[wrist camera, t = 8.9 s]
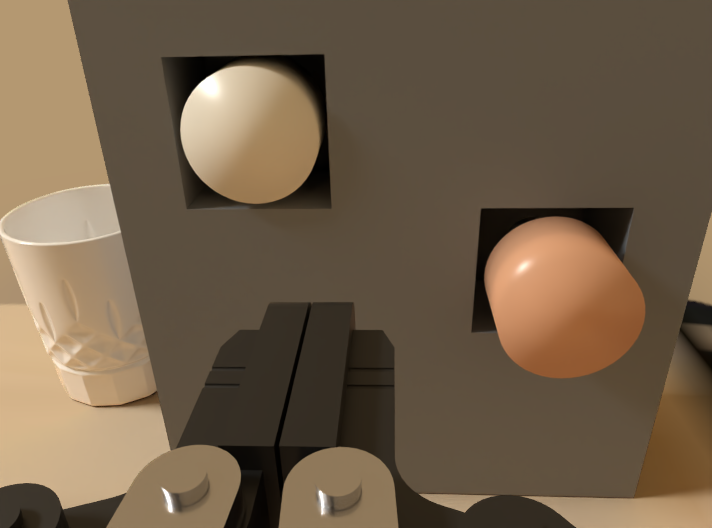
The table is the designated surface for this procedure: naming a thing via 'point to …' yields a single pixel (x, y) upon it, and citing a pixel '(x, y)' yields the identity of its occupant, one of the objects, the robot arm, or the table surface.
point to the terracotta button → (562, 298)
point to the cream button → (254, 128)
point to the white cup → (81, 293)
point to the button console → (423, 205)
